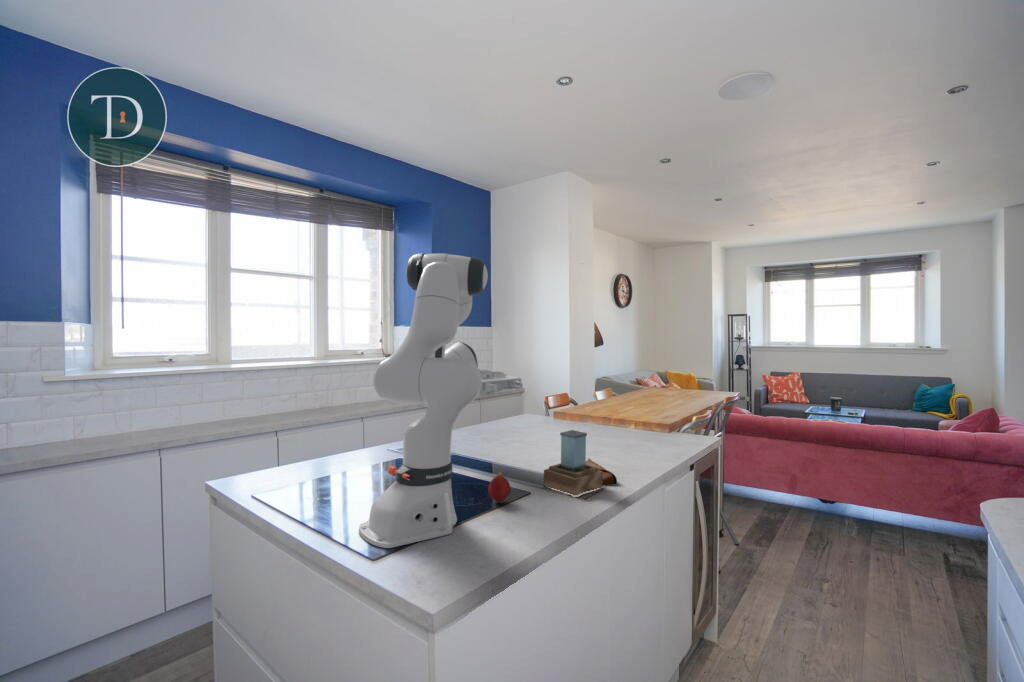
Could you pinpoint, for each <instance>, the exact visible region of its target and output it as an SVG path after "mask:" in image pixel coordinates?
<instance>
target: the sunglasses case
mask: <svg viewBox="0 0 1024 682" xmlns="http://www.w3.org/2000/svg"><path fill="white" fill-rule="evenodd" d="M585 464H586V465H590V466H593V467H597V468H598V470H600V471H603V485H606V486H613V485H612V484H616V485H617V483H618V479H617V476H616V475H615V474H614V473H613V472H611V471H609V470H607V469H606V468H604V467H603V466H602V465H599V464H598V463H597V462H595V461H593V460H592V459H591V458H588V459H587V460H586V462H585Z"/></svg>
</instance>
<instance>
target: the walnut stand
mask: <svg viewBox="0 0 1024 682" xmlns="http://www.w3.org/2000/svg"><path fill="white" fill-rule="evenodd" d="M544 486H547V487H550V488H554V489H557V490H560V491H563V492H567V493H570V494H573V495H578V494H580V493H583V492H586V491H590V490H594V489H597V488H601V487H604V486H603V471H600V470H598V468H597V467H593V466H590V465H586V464H585V470H584V471H580V472H577V473H573V472H570V471H566V470H563V469H561V462H560V463H557V464H553V465H549V466H548V468H547V469H544V470H543V487H544Z"/></svg>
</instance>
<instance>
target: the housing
mask: <svg viewBox="0 0 1024 682" xmlns="http://www.w3.org/2000/svg"><path fill="white" fill-rule="evenodd" d="M560 436H561V439H560V463H561V469H563V470H566V471H570V472H573V473H577V472H580V471H584V470H585V462H586V461H587V460H586V458H587V457H586V456H587V455H586V454H587V452H586V450H587V448H586V446H587V445H586V444H587V436H588V433H587V432H583V431H579V430H574V429H571V430H567V431H562V432H560Z"/></svg>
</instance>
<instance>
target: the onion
mask: <svg viewBox="0 0 1024 682" xmlns="http://www.w3.org/2000/svg"><path fill="white" fill-rule="evenodd" d="M487 488H488V489H487V490H488V494H489V497H490V498H491V499H492V500H493V501H495V502H496V503H498V502H501V503H503V501H505V500H506V499H507V498H509V496H510V494H511V490H512V487H511V484H510V482H509V480H507V478H506V477H504V476H503V472H498V474H496V476H495V477H493V478H492V479H491V480H490V482H489V485H488V487H487Z"/></svg>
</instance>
